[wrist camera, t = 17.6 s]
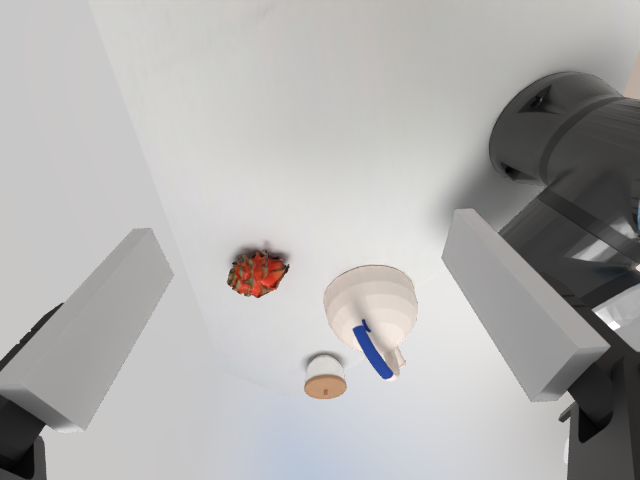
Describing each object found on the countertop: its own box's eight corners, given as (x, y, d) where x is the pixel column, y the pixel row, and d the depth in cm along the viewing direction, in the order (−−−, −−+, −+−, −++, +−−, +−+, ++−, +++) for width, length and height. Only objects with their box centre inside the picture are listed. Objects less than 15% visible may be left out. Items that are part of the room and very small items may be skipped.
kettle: (351, 337, 70) (363, 415, 55) (305, 290, 59) (305, 371, 45) (426, 306, 64) (462, 384, 49) (390, 248, 54) (422, 325, 39)
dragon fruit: (228, 259, 55) (285, 243, 56) (239, 300, 55) (296, 284, 56) (213, 261, 47) (281, 243, 47) (226, 309, 47) (294, 291, 47)
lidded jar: (328, 344, 71) (331, 380, 64) (350, 362, 77) (355, 397, 69) (296, 359, 75) (295, 395, 67) (319, 375, 80) (321, 409, 72)
